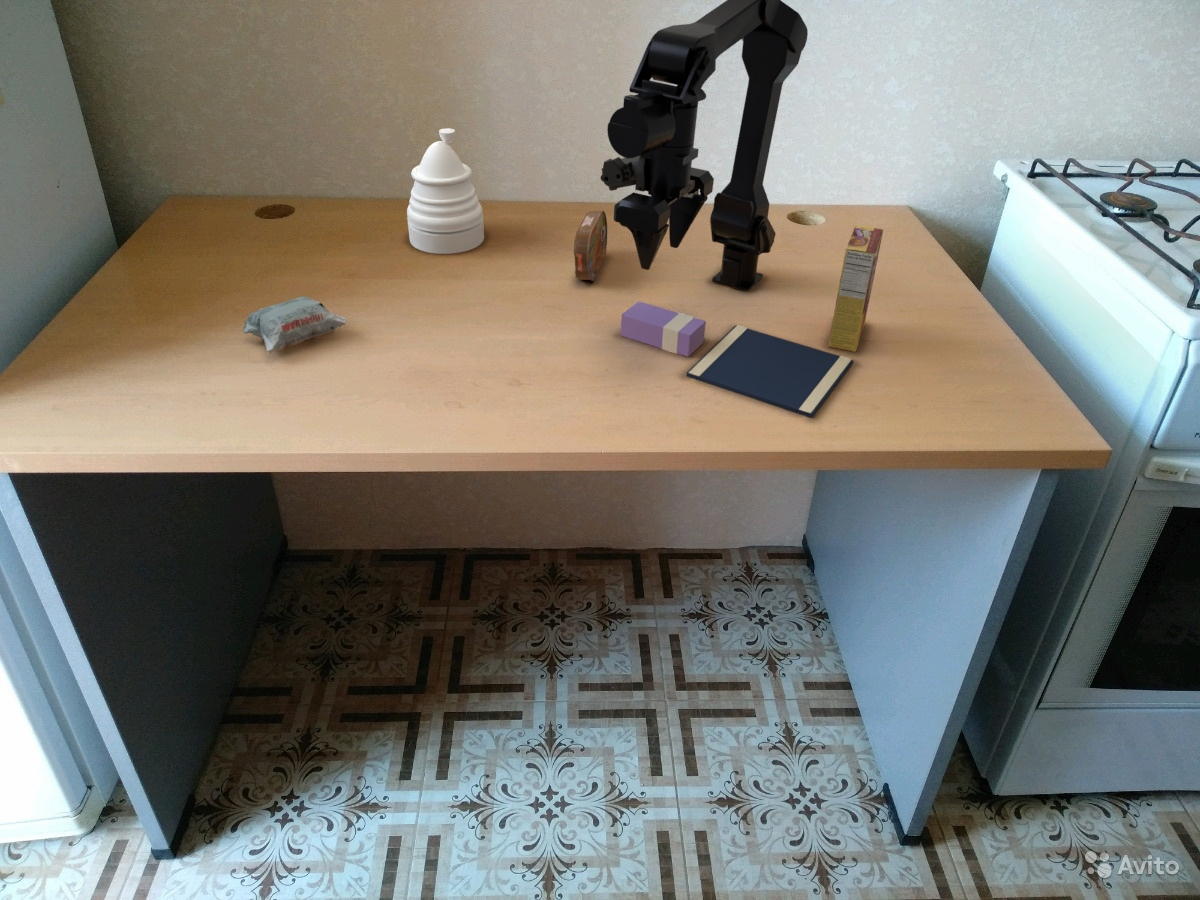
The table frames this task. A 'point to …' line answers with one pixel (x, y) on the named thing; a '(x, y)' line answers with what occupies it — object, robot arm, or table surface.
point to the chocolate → (663, 328)
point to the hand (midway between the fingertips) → (660, 257)
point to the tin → (590, 245)
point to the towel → (772, 370)
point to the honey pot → (444, 202)
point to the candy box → (855, 287)
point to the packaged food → (292, 323)
